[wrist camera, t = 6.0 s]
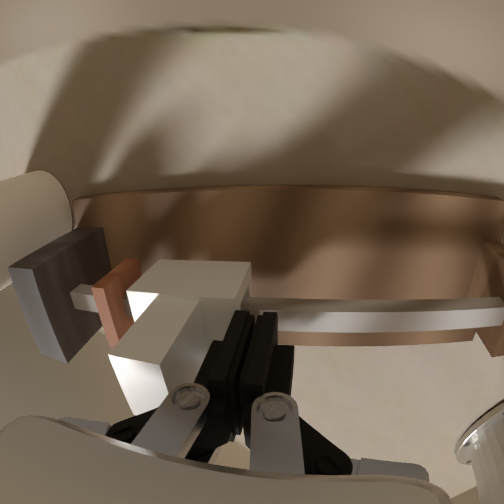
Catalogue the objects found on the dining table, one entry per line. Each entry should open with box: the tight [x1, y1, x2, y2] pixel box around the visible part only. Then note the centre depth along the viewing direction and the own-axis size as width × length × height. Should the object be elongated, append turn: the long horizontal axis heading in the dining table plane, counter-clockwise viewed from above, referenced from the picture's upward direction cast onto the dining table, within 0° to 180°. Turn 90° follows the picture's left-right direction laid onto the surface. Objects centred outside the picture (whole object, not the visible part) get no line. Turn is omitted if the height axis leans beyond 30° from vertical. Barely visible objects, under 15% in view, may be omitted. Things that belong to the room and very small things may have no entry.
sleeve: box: [108, 259, 253, 415], centre depth 13 cm, size 5×4×8 cm
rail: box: [8, 185, 504, 363], centre depth 15 cm, size 28×10×8 cm, turn 93°
